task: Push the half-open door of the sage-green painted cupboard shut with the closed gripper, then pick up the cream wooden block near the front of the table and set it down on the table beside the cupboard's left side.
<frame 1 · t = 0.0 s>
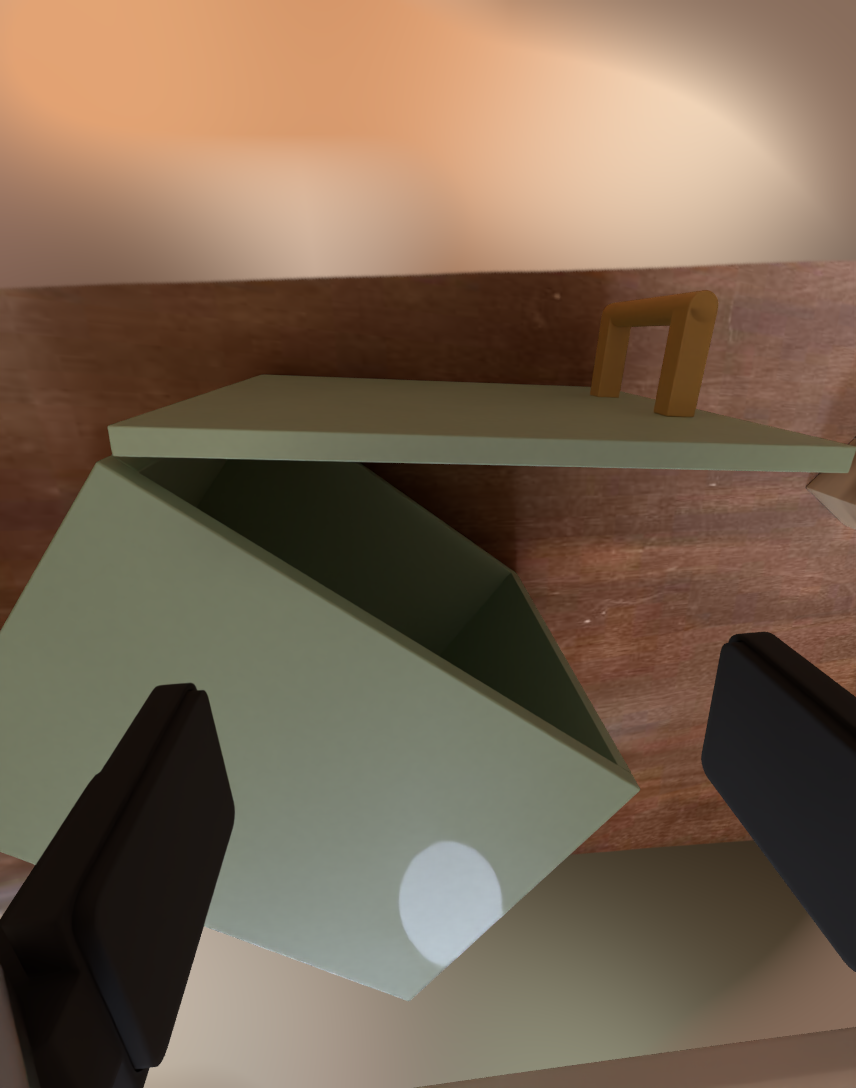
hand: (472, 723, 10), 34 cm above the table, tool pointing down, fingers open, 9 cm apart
block: (852, 480, 46), on the table
cupboard: (335, 571, 45), on the table
cupboard door: (462, 354, 28), point 12 cm above the table, hinge at 35.0°
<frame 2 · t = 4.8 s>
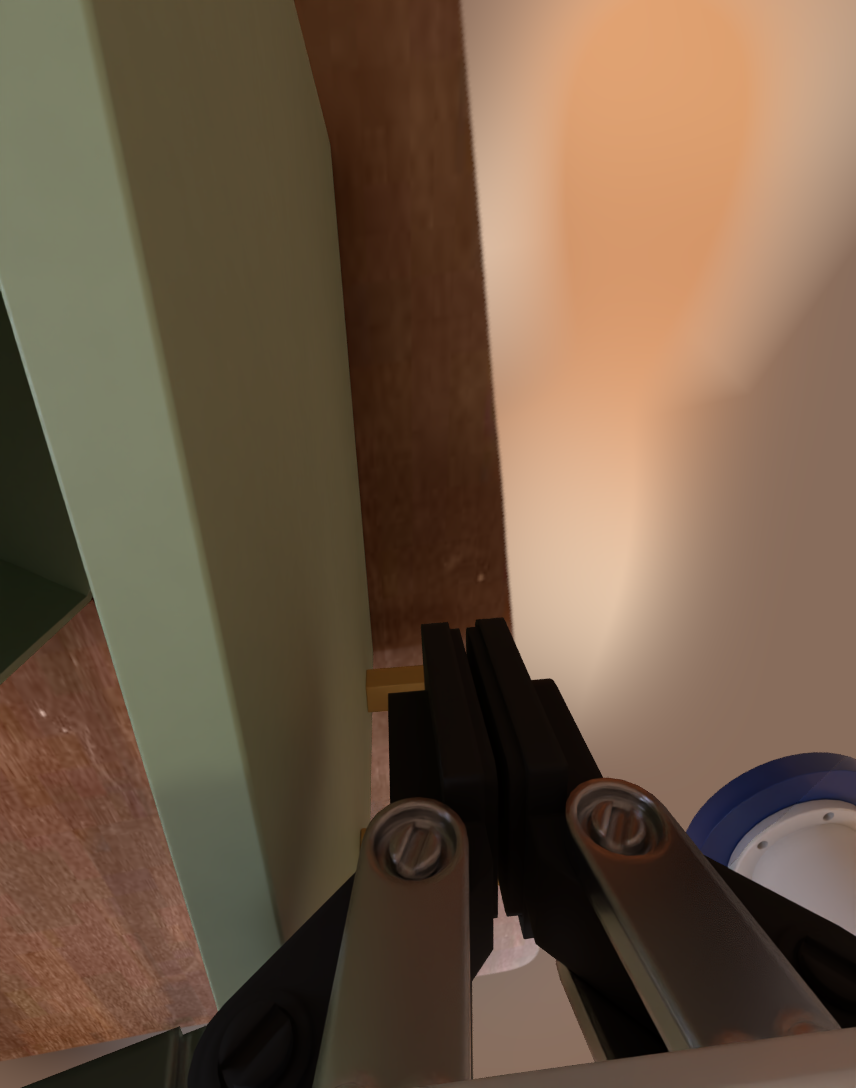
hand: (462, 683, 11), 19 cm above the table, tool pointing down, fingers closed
cupboard door: (411, 510, 17), point 12 cm above the table, hinge at 33.7°, touching gripper
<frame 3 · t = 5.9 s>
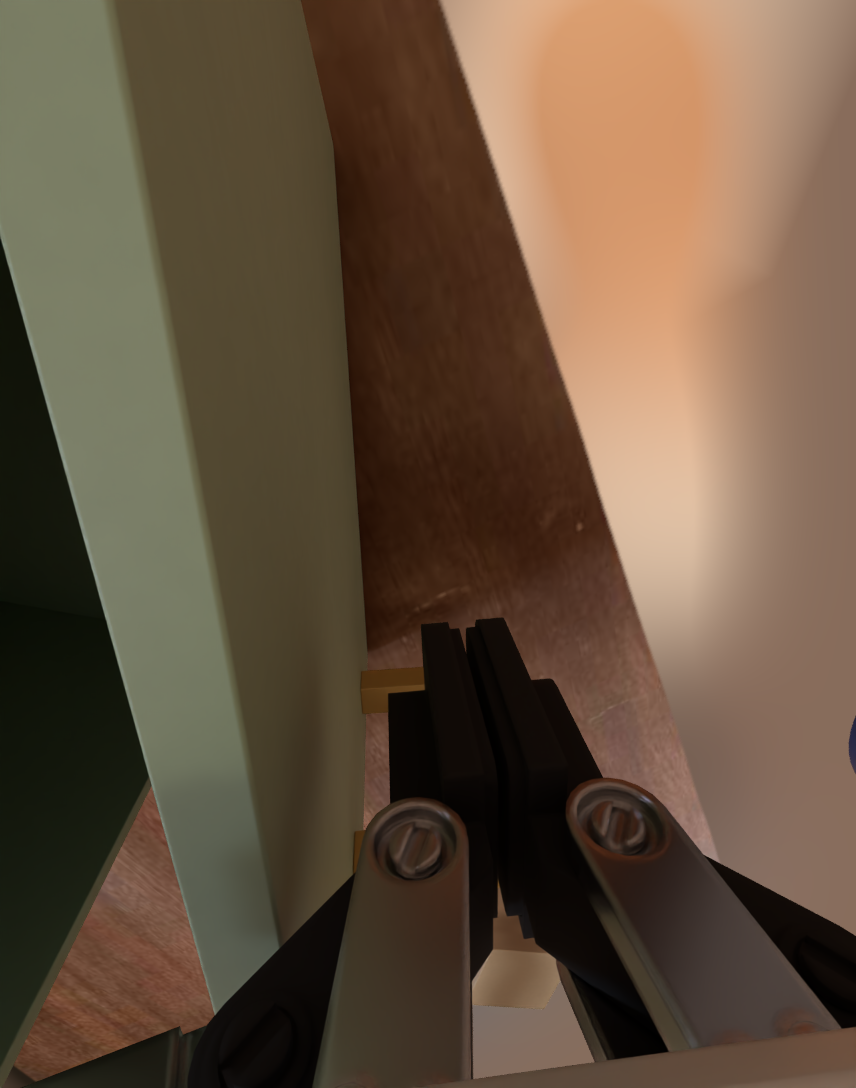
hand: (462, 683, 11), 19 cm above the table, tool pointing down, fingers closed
block: (500, 895, 42), on the table
cupboard: (66, 384, 25), on the table
cupboard door: (410, 514, 17), point 12 cm above the table, hinge at 16.5°, touching gripper
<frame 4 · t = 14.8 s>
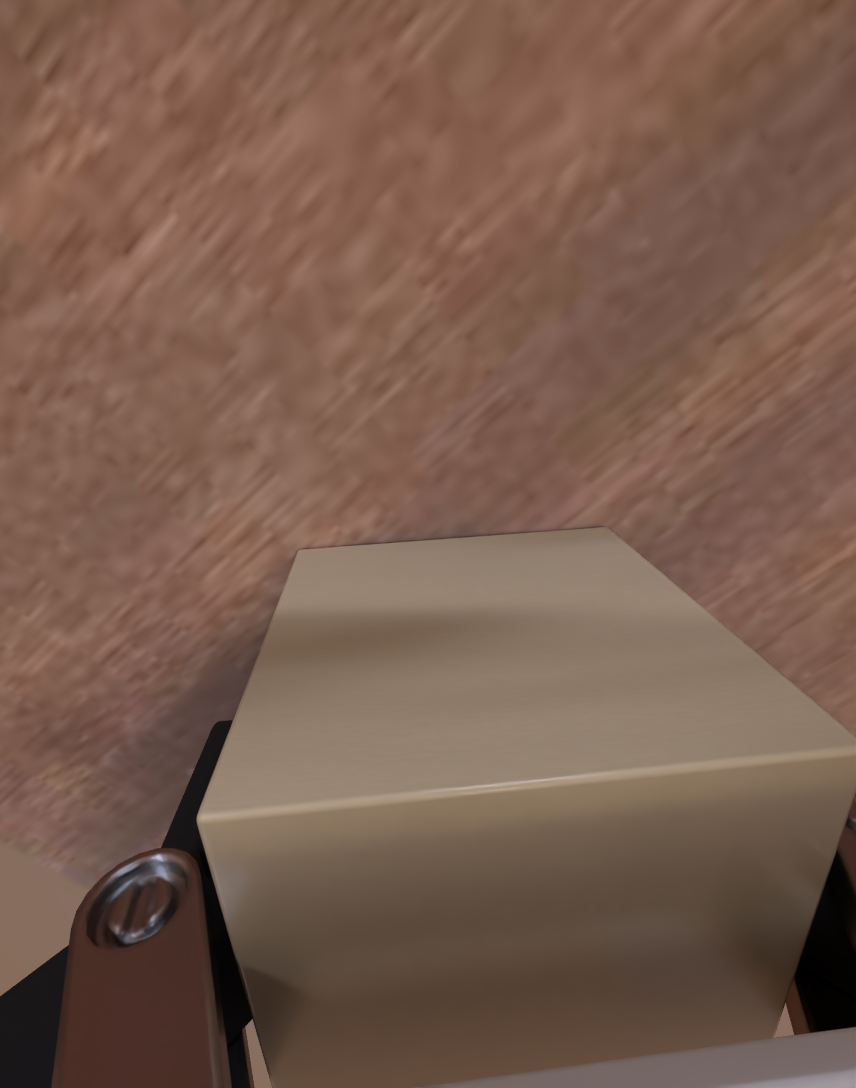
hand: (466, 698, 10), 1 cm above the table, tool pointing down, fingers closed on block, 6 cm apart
block: (459, 668, 11), on the table, touching gripper
when the fingers open (1 cm above the table, at t = 22.3 s): block stays where it is, on the table.
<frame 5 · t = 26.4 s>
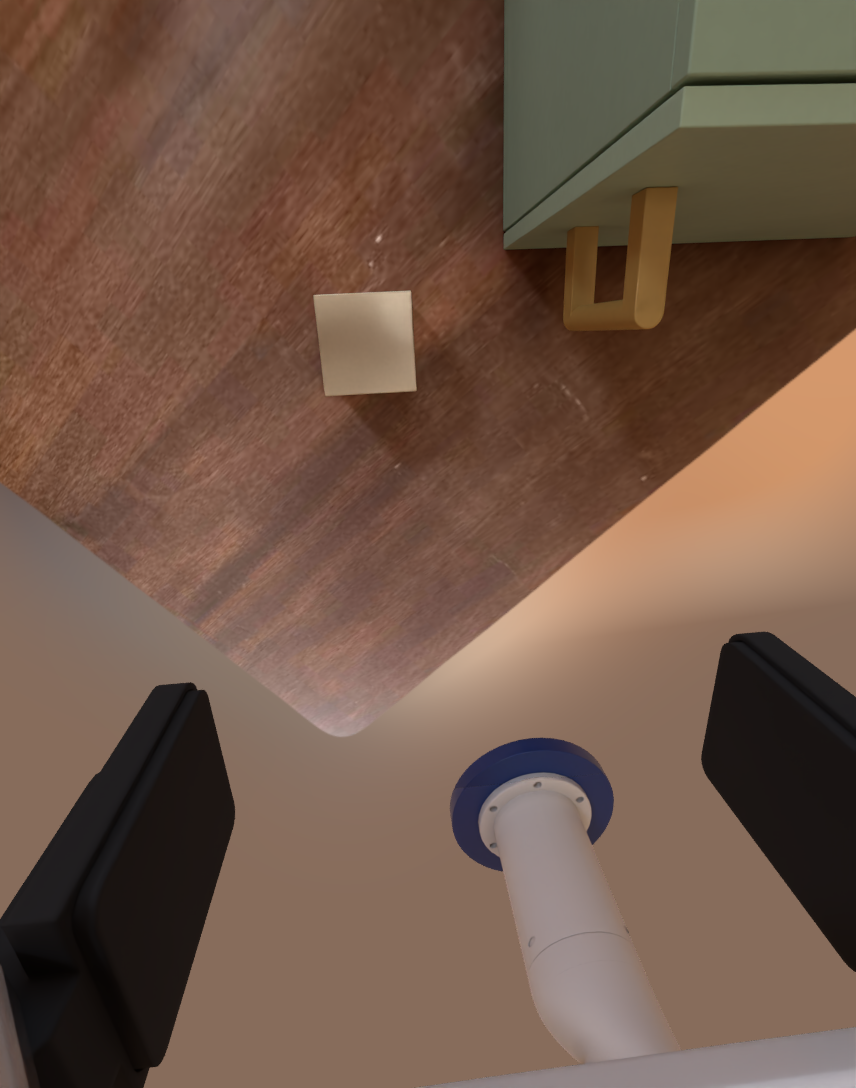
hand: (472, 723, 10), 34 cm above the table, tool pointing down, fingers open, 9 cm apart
block: (368, 343, 39), on the table
cupboard: (700, 66, 35), on the table
cupboard door: (793, 255, 28), point 12 cm above the table, hinge at -0.2°
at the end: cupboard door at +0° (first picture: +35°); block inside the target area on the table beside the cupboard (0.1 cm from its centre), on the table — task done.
